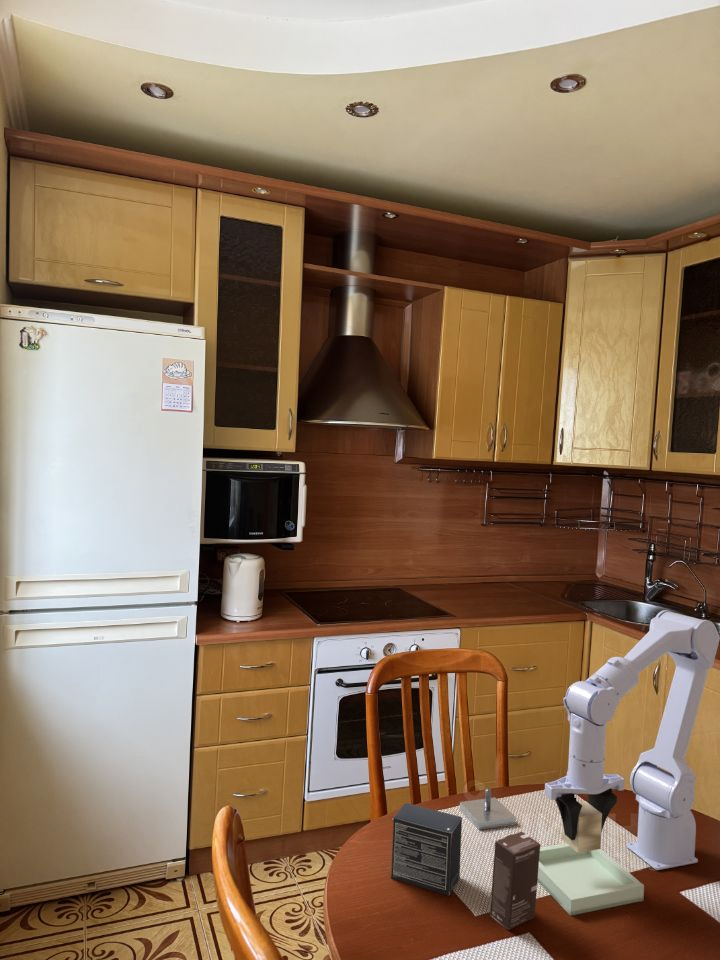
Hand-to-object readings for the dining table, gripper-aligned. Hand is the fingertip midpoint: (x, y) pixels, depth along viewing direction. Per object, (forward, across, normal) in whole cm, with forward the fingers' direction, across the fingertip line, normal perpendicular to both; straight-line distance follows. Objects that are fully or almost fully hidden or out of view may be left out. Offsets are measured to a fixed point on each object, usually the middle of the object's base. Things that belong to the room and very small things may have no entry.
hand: (582, 834), depth 115 cm
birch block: (+2, 0, 0) cm, 2 cm away
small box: (+8, +25, -8) cm, 28 cm away
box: (+8, +16, +5) cm, 19 cm away
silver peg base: (+8, +5, -23) cm, 25 cm away
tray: (+8, 0, 0) cm, 8 cm away
